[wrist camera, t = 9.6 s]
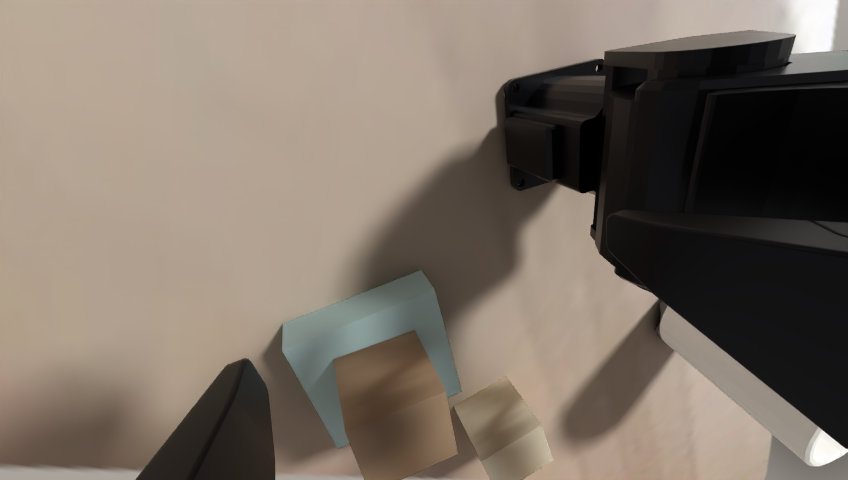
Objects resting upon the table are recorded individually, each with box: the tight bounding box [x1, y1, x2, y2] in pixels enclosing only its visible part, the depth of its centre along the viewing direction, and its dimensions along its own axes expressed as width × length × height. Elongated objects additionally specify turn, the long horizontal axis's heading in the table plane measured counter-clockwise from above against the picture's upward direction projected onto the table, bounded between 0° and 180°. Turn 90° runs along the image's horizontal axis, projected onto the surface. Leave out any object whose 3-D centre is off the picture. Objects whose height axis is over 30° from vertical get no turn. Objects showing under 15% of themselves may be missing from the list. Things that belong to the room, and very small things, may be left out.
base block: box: [282, 270, 462, 449], centre depth 24 cm, size 9×9×3 cm
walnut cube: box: [333, 330, 458, 480], centre depth 21 cm, size 5×5×5 cm
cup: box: [656, 301, 848, 466], centre depth 29 cm, size 10×10×13 cm
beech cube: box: [454, 376, 553, 480], centre depth 29 cm, size 5×5×5 cm
